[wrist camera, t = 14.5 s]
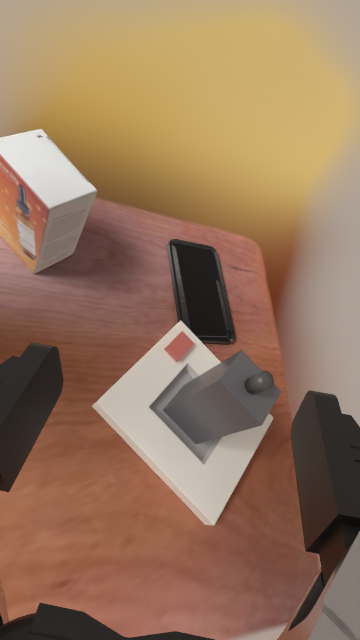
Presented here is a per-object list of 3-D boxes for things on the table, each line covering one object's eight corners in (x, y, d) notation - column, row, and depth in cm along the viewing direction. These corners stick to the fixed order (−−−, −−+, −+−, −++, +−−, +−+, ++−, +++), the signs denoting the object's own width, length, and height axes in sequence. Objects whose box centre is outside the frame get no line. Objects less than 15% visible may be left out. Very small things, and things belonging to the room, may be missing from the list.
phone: (184, 339, 41) (168, 237, 47) (179, 343, 42) (165, 242, 48) (237, 342, 45) (216, 247, 51) (232, 345, 46) (212, 251, 52)
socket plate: (91, 406, 33) (98, 400, 32) (174, 325, 42) (183, 317, 40) (205, 524, 34) (218, 526, 32) (265, 420, 42) (278, 416, 40)
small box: (-17, 220, 37) (-16, 137, 28) (29, 204, 40) (41, 125, 32) (34, 276, 37) (49, 209, 28) (74, 255, 40) (99, 189, 32)
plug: (162, 410, 36) (233, 372, 26) (183, 384, 39) (255, 341, 29) (195, 444, 36) (278, 420, 26) (214, 416, 39) (297, 385, 29)
